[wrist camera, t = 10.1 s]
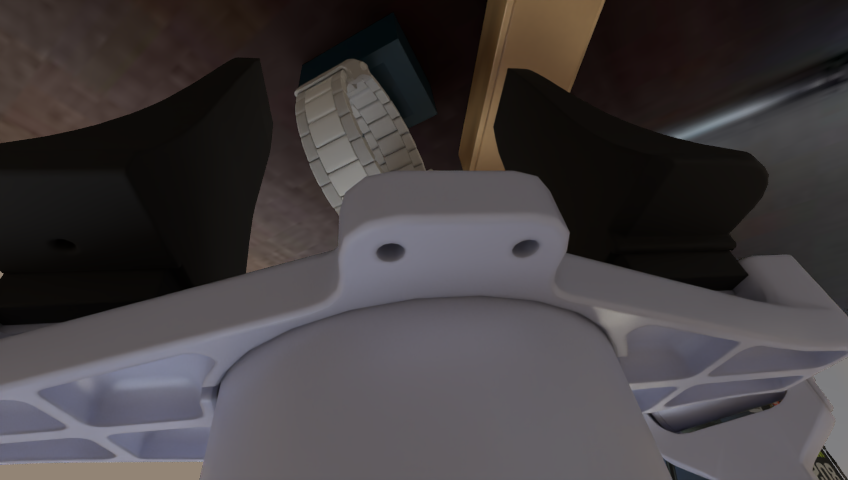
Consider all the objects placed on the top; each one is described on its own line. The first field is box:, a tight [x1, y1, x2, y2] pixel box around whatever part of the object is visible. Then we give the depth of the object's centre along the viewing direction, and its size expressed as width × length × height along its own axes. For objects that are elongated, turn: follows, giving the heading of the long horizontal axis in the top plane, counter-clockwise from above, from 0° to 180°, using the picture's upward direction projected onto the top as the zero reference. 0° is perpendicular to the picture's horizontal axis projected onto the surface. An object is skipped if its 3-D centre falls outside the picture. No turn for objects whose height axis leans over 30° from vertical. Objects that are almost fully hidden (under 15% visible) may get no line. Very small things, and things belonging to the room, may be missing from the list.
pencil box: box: [458, 0, 605, 171], centre depth 21 cm, size 14×4×3 cm, turn 174°
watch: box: [295, 13, 437, 214], centre depth 19 cm, size 6×8×11 cm
